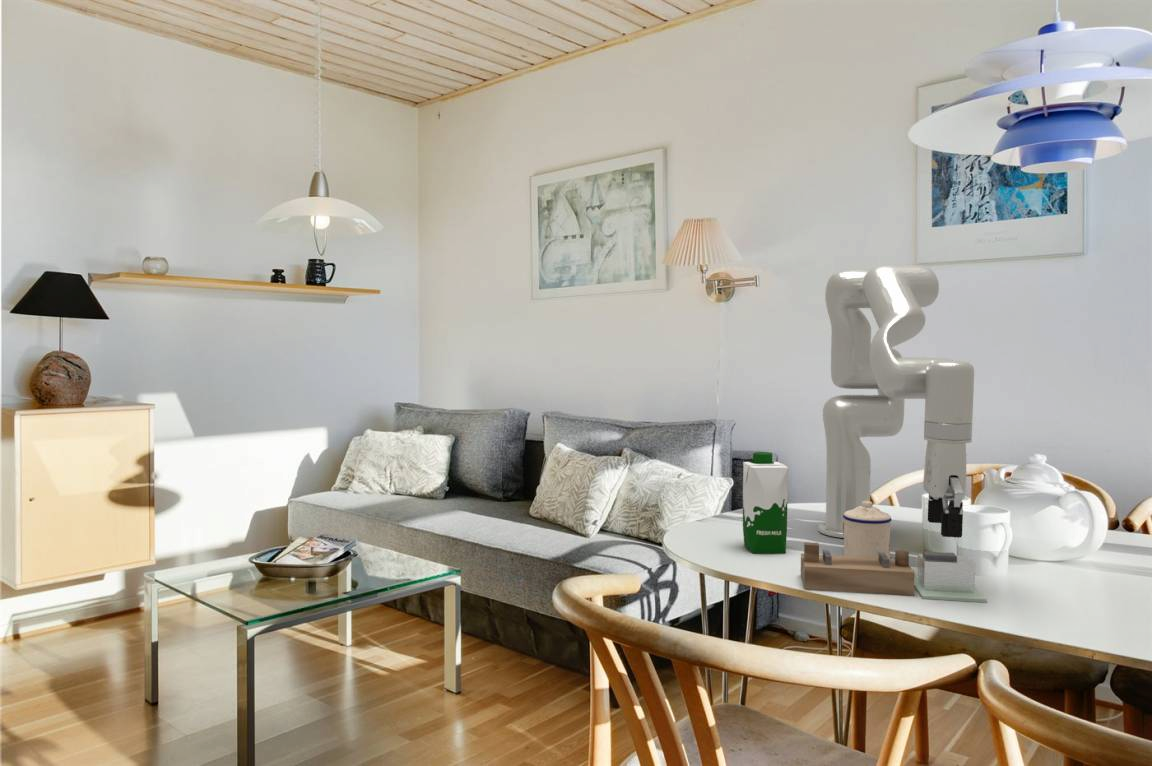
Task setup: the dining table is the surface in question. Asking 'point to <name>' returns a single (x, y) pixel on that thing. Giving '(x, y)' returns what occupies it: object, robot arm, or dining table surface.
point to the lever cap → (945, 572)
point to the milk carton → (765, 504)
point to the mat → (949, 594)
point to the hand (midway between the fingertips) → (944, 529)
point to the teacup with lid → (866, 531)
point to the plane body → (856, 572)
